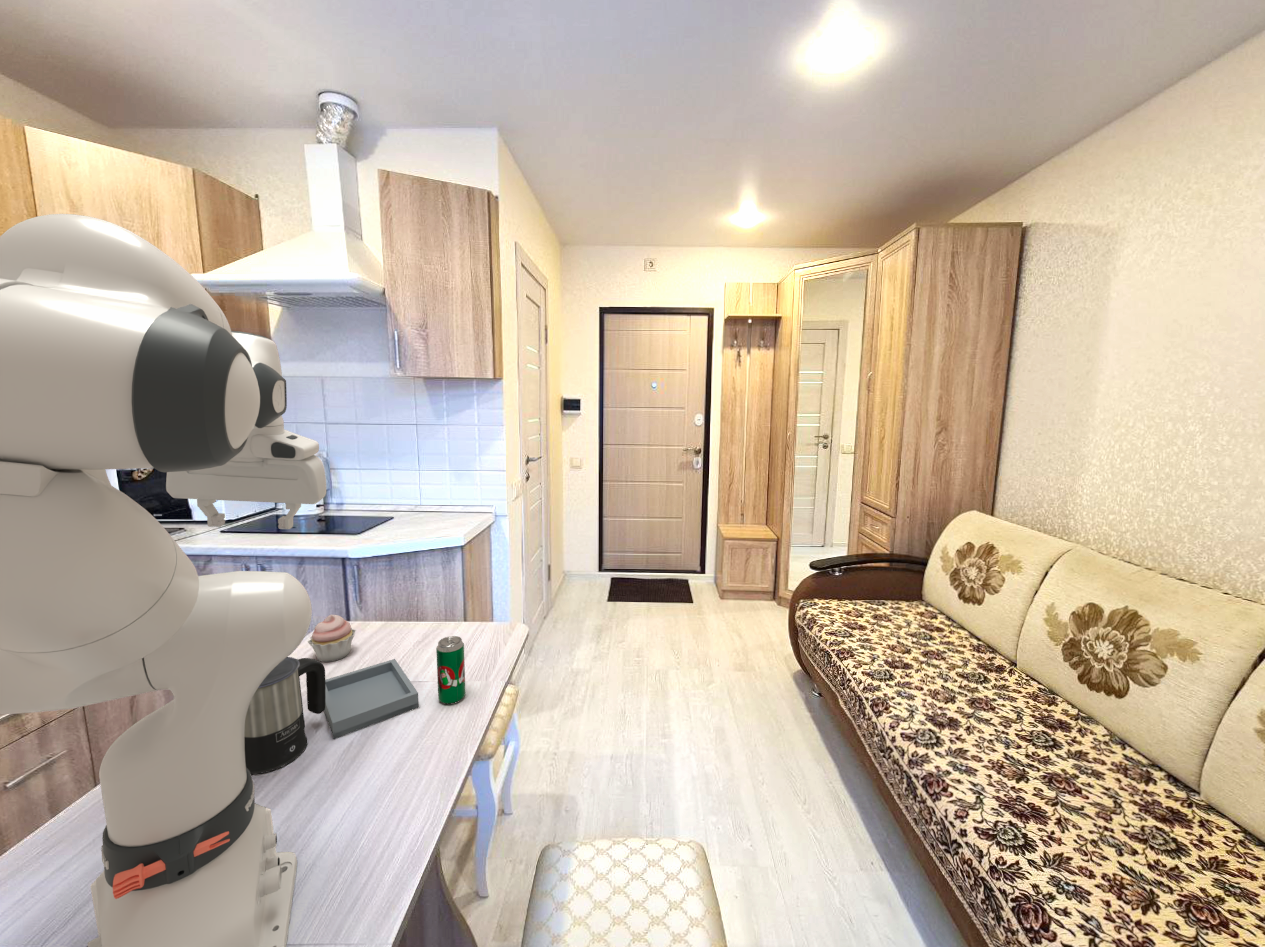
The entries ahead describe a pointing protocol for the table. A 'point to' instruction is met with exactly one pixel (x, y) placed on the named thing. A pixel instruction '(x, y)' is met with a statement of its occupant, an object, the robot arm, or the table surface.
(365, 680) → the tray
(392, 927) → the table surface
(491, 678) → the table surface
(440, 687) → the soda can
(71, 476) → the robot arm
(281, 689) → the milk frother
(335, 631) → the cupcake
